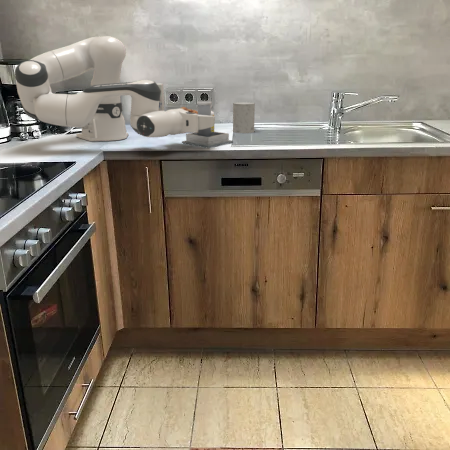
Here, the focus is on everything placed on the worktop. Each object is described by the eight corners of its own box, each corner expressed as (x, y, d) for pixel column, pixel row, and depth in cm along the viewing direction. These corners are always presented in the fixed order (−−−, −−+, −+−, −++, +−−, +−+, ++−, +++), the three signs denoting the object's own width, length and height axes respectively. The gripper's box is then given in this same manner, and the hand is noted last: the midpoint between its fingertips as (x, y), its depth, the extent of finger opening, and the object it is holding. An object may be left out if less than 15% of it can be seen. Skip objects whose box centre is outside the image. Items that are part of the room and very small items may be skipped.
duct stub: (194, 141, 191) (194, 101, 186) (204, 139, 195) (204, 100, 190) (205, 143, 188) (204, 102, 183) (214, 141, 192) (214, 101, 187)
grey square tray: (181, 143, 192) (181, 134, 191) (206, 138, 202) (206, 129, 201) (208, 147, 183) (208, 138, 182) (233, 142, 193) (233, 133, 192)
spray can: (148, 130, 223) (146, 84, 217) (152, 128, 230) (150, 83, 223) (163, 130, 223) (161, 84, 216) (166, 128, 229) (164, 83, 222)
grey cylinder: (238, 133, 215) (238, 104, 211) (229, 130, 223) (229, 102, 219) (258, 132, 218) (258, 103, 214) (248, 129, 226) (248, 101, 222)
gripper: (158, 127, 186) (184, 123, 195) (198, 133, 173) (224, 128, 183) (157, 110, 183) (184, 107, 193) (198, 114, 171) (224, 110, 181)
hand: (204, 117), depth 188 cm, fingers open, 8 cm apart
